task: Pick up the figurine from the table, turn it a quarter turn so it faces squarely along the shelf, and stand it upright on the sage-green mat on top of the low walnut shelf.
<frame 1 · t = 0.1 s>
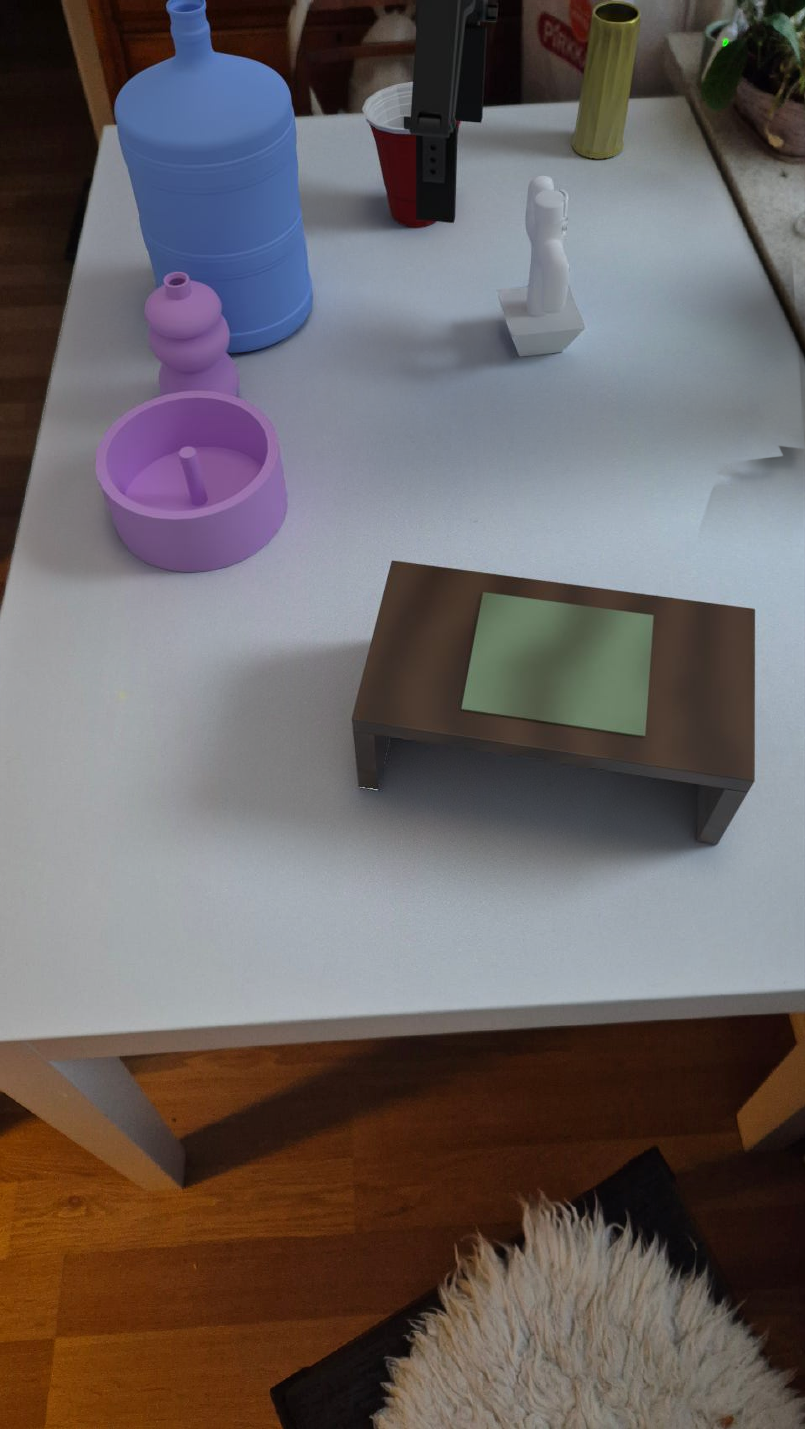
hand: (450, 167, 76), 24 cm above the table, tool pointing down, fingers open, 13 cm apart
water jug: (239, 310, 105), on the table
container set: (202, 469, 92), on the table
vase: (596, 147, 121), on the table
figurine: (536, 342, 101), on the table
plastic cup: (415, 214, 114), on the table
shelf: (545, 734, 76), on the table
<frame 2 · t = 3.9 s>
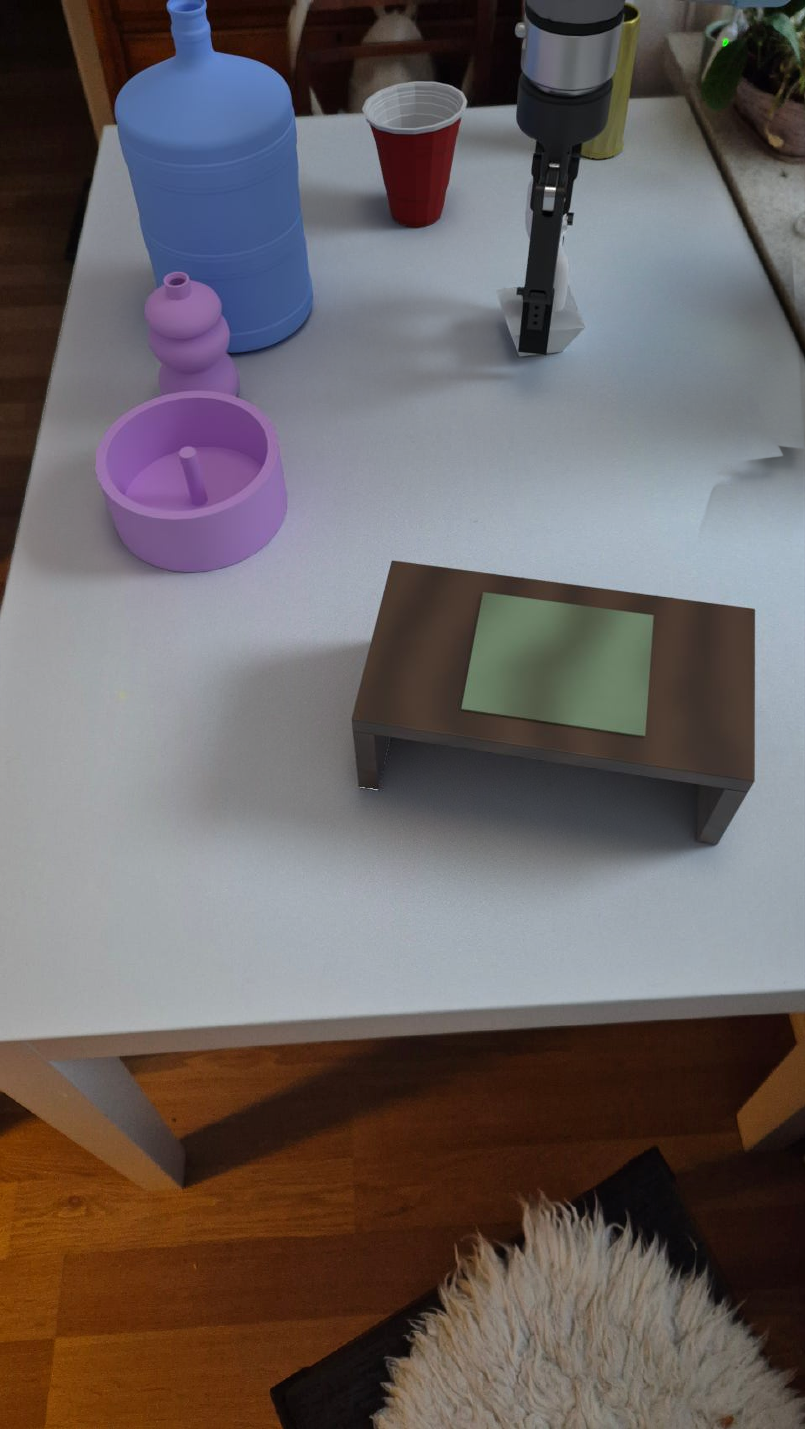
hand: (538, 319, 99), 2 cm above the table, tool pointing down, fingers closed on figurine, 9 cm apart
figurine: (535, 342, 101), on the table, touching gripper
everything else where it was.
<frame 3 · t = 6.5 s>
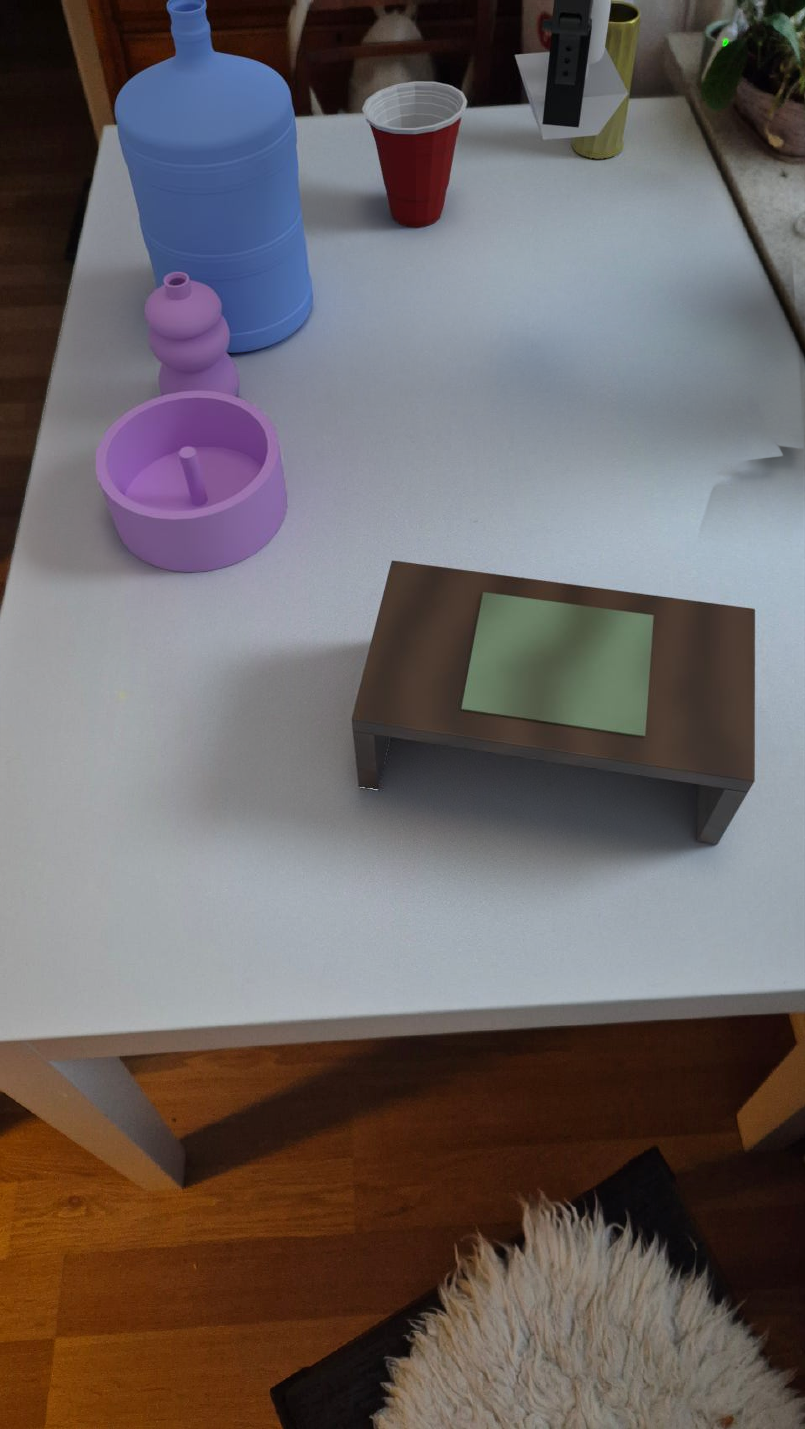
hand: (568, 90, 78), 25 cm above the table, tool pointing down, fingers closed on figurine, 9 cm apart
figurine: (564, 126, 80), point 23 cm above the table, touching gripper
everything else where it was.
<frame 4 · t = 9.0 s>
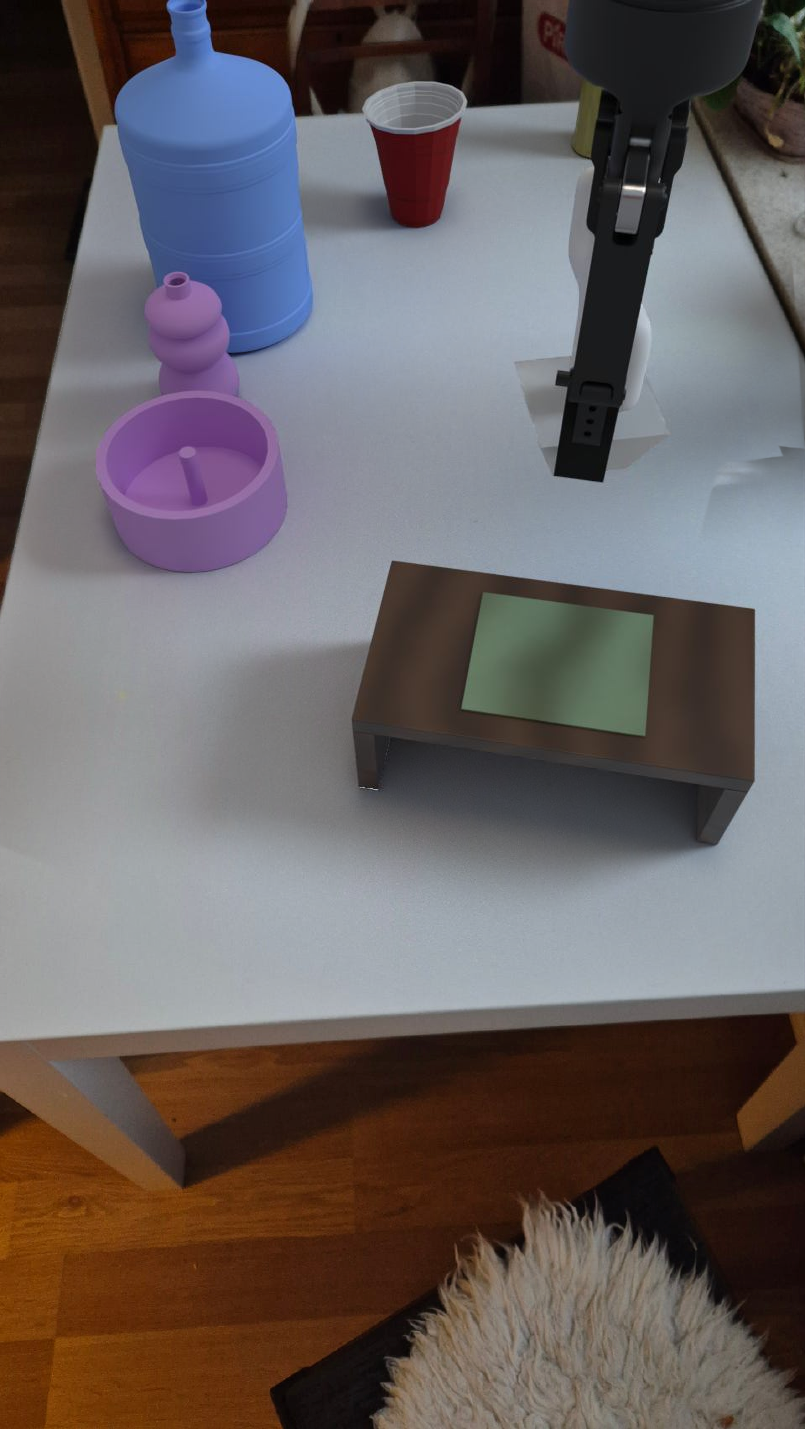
hand: (587, 415, 57), 26 cm above the table, tool pointing down, fingers closed on figurine, 9 cm apart
figurine: (580, 449, 60), point 23 cm above the table, touching gripper
everything else where it was.
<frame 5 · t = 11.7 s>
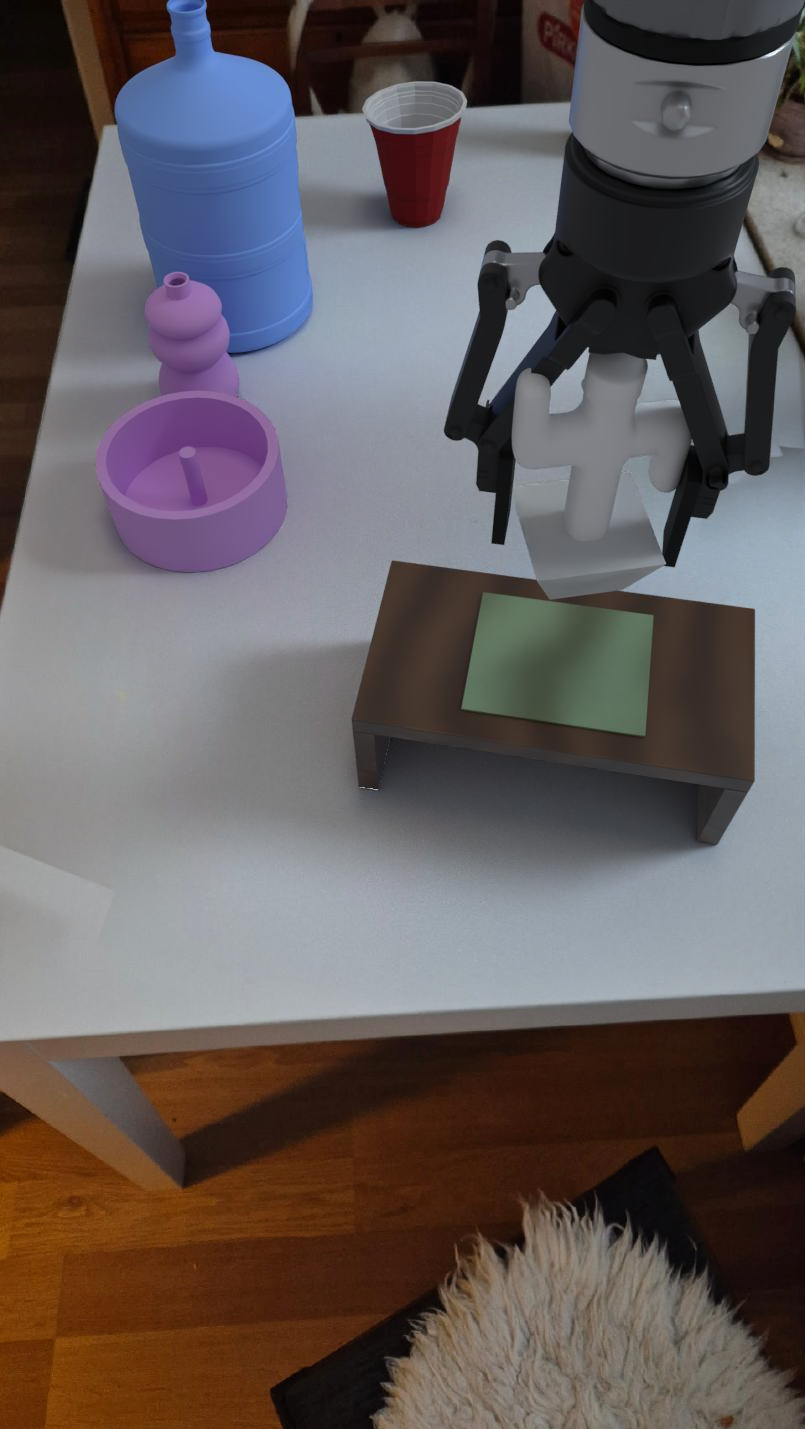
hand: (584, 537, 58), 22 cm above the table, tool pointing down, fingers closed on figurine, 9 cm apart
figurine: (576, 568, 60), point 19 cm above the table, touching gripper
everything else where it was.
when the fingers open (12 cm above the table, at t = 14.4 s): figurine stays where it is, resting on shelf.
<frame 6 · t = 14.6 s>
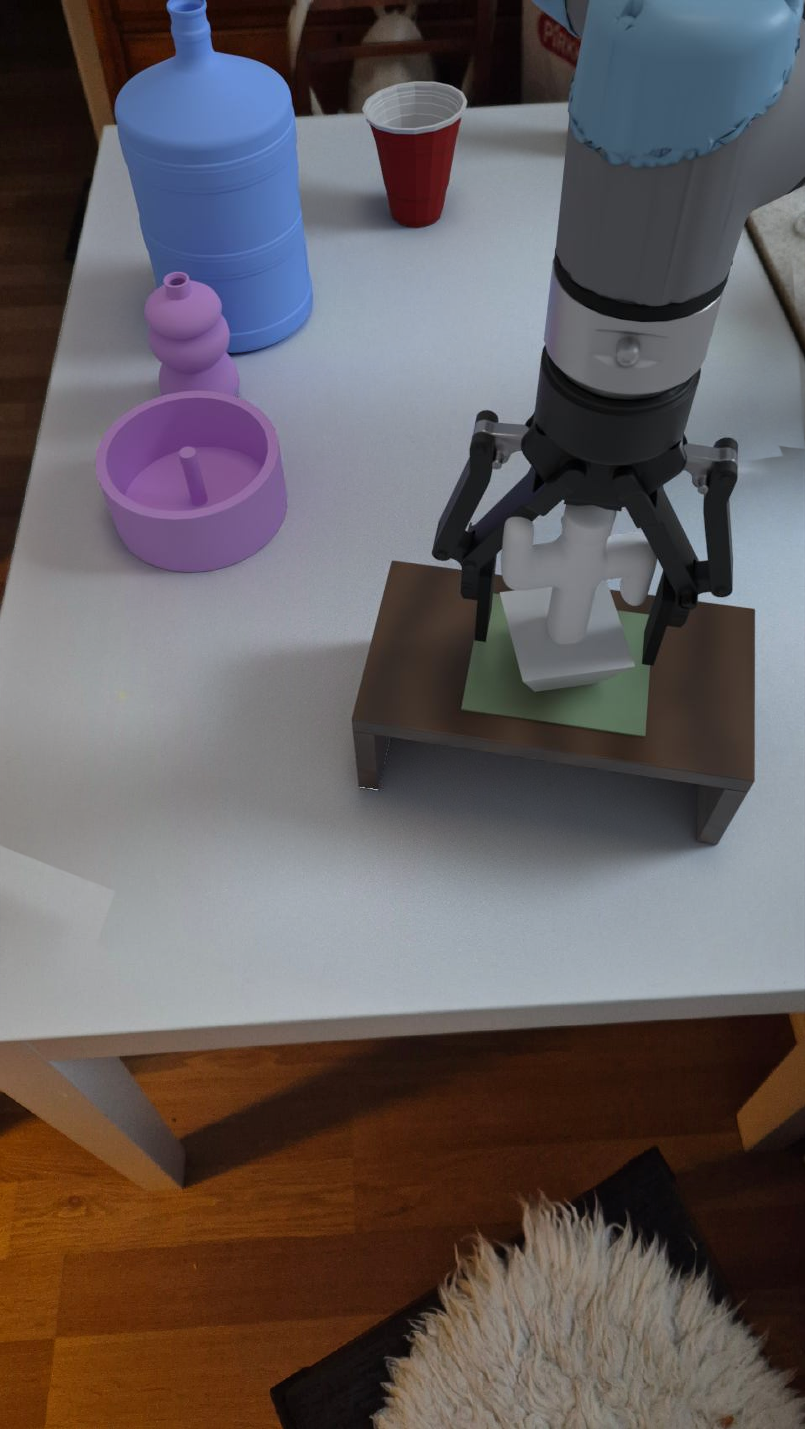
hand: (565, 636, 66), 12 cm above the table, tool pointing down, fingers open, 10 cm apart
figurine: (558, 662, 68), point 10 cm above the table, touching shelf
everything else where it was.
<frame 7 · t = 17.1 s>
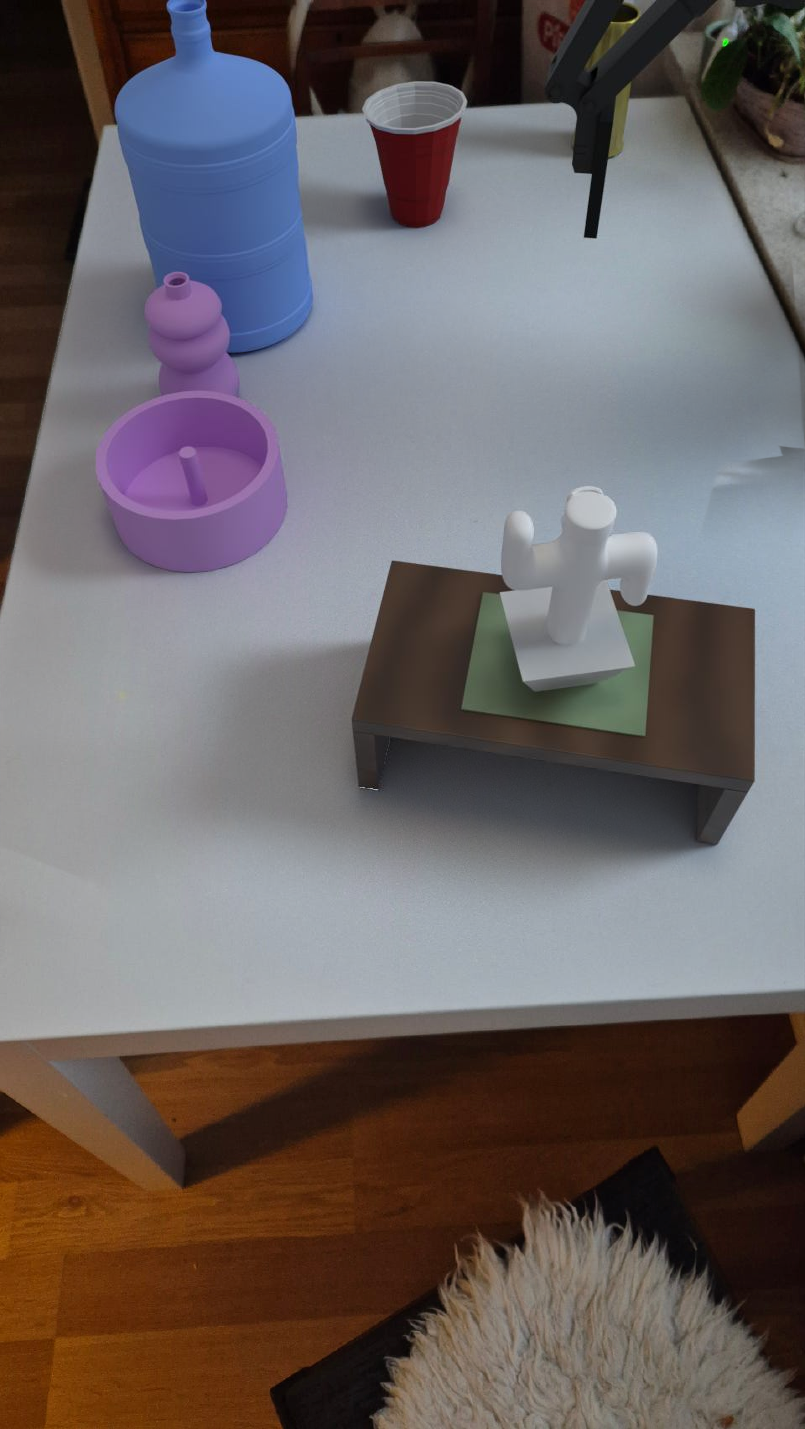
hand: (710, 233, 58), 31 cm above the table, tool pointing down, fingers open, 13 cm apart
nothing on the table moved.
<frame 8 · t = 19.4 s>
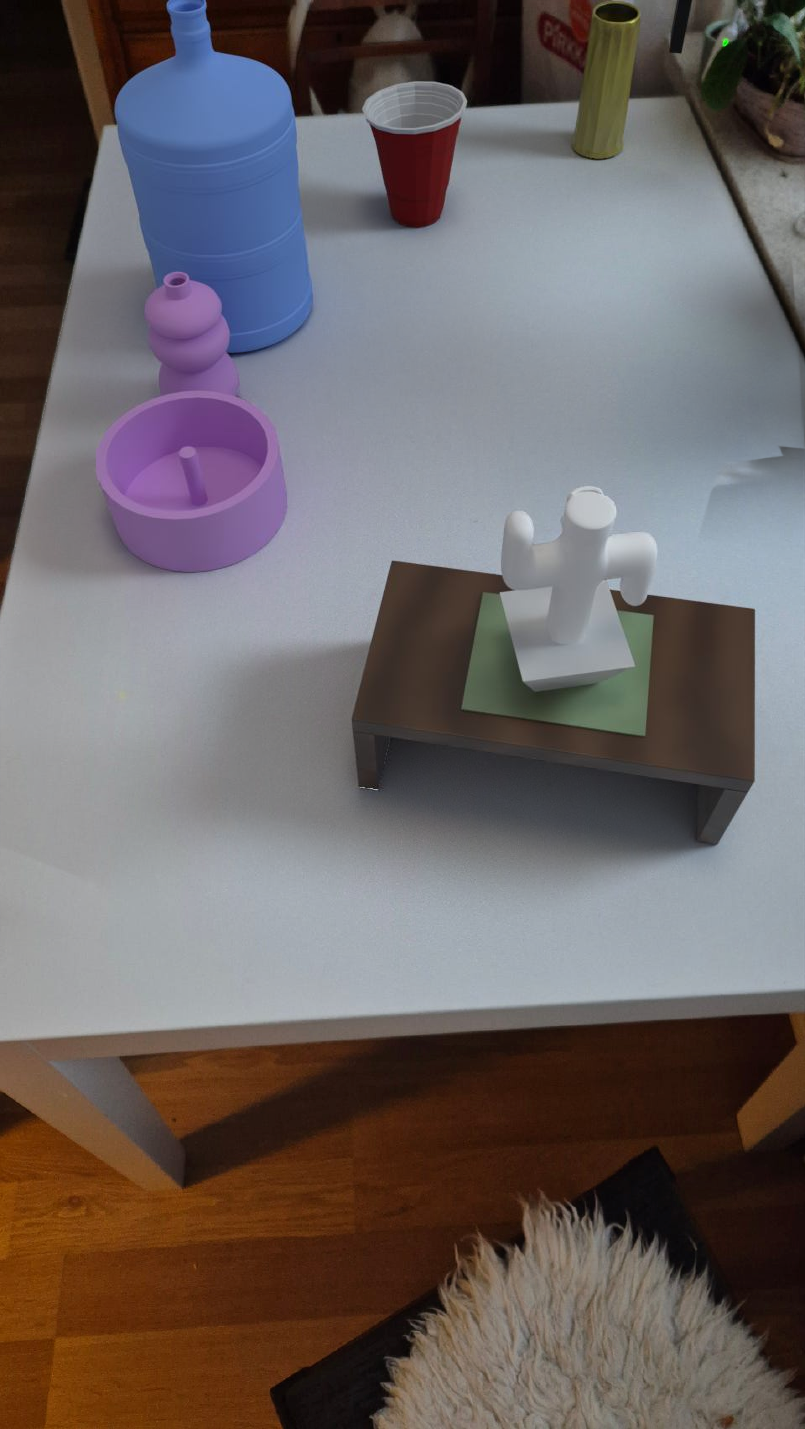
hand: (787, 51, 62), 35 cm above the table, tool pointing down, fingers open, 13 cm apart
nothing on the table moved.
at the end: figurine inside the target area on the shelf (0.1 cm from its centre), point 9.5 cm above the shelf's base; figurine tilted 0°; the gripper is holding nothing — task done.
